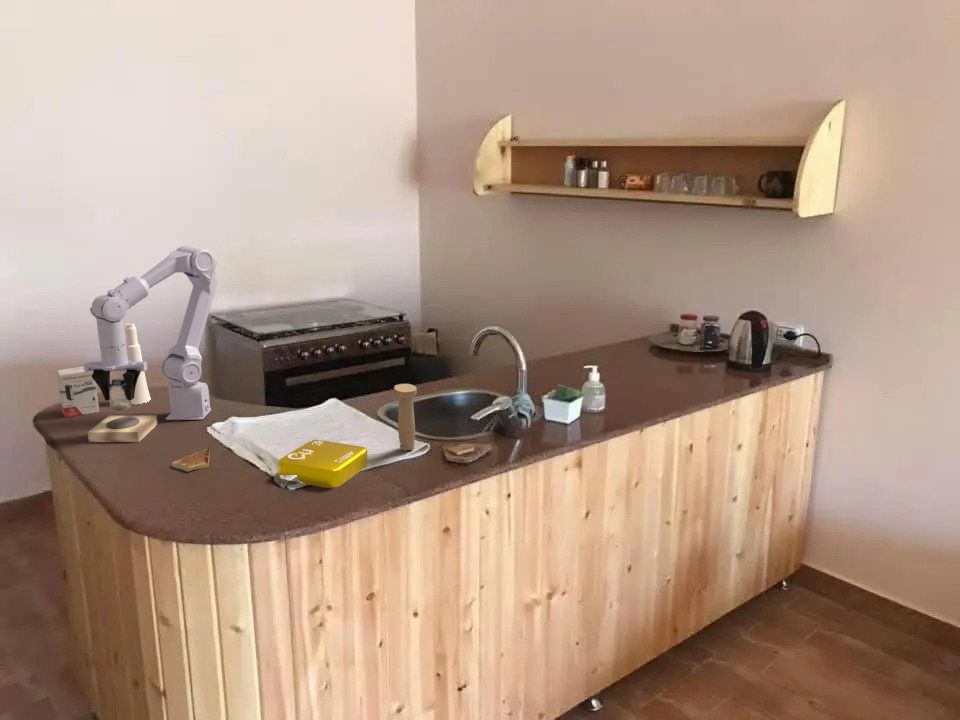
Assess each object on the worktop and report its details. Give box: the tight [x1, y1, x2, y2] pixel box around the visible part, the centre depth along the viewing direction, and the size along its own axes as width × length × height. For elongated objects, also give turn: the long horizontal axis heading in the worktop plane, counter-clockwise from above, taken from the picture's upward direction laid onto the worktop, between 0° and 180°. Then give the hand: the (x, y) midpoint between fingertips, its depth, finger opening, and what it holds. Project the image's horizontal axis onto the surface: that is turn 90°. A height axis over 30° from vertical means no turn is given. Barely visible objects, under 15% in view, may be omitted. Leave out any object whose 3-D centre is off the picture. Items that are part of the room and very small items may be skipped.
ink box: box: [56, 366, 100, 418], centre depth 220 cm, size 8×5×12 cm, turn 123°
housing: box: [108, 377, 133, 411], centre depth 204 cm, size 5×5×7 cm
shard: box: [171, 446, 211, 473], centre depth 188 cm, size 11×8×2 cm
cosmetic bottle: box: [124, 322, 152, 406], centre depth 228 cm, size 6×6×22 cm
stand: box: [87, 414, 158, 443], centre depth 206 cm, size 12×12×3 cm
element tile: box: [277, 439, 369, 489], centre depth 183 cm, size 15×15×5 cm
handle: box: [393, 383, 418, 451], centre depth 193 cm, size 5×6×15 cm
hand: (119, 399), depth 204 cm, fingers closed on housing, 5 cm apart
